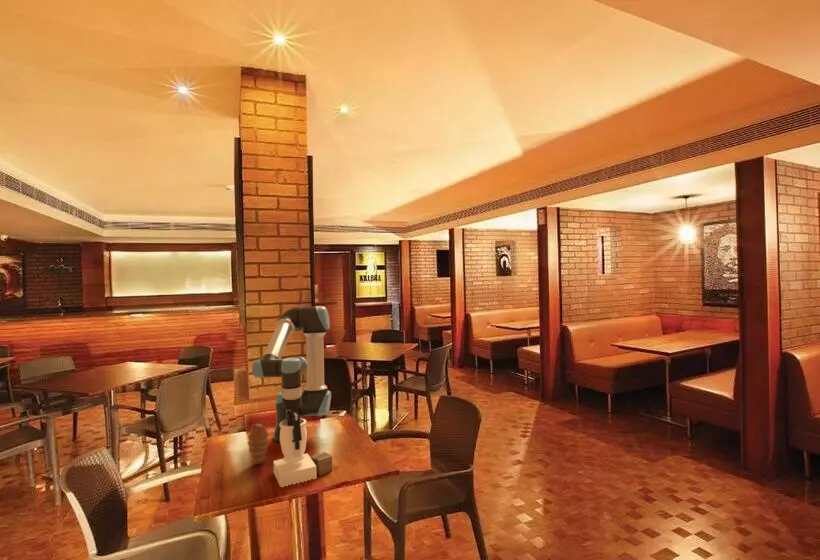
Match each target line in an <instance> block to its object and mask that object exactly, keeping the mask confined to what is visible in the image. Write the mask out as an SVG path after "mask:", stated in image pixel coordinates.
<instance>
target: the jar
mask: <svg viewBox="0 0 820 560" xmlns="http://www.w3.org/2000/svg"><path fill="white" fill-rule="evenodd" d="M306 425H307V419H305V418H303V417H301V418H300V428H301V438H302V440H301V441H300V445H301V457H296V458H294V457H293V442H292V440H294V439H293V429H294V428H293V426H288V420H287V419H286V420H283V421H282V422H280V424H279V426H280V428H281V429H280V442H279V444H280V446H281V447H280V448H281V452H282V454H283V458H282V459H283V460H284V461H285V462H287V463H295V462H299V461H301V460H303V459H304V458H305V455H304V454H305V452H306V448H307V440H308V434H307V428H306V427H307V426H306Z"/></svg>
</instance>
